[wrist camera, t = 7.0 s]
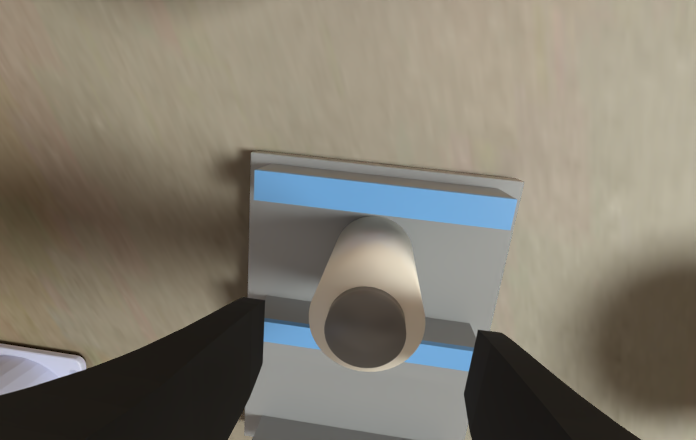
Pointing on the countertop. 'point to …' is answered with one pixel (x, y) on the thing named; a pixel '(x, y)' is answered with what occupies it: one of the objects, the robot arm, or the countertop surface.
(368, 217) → the grey-capped cream cylinder
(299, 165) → the grey and blue rack
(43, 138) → the countertop surface
